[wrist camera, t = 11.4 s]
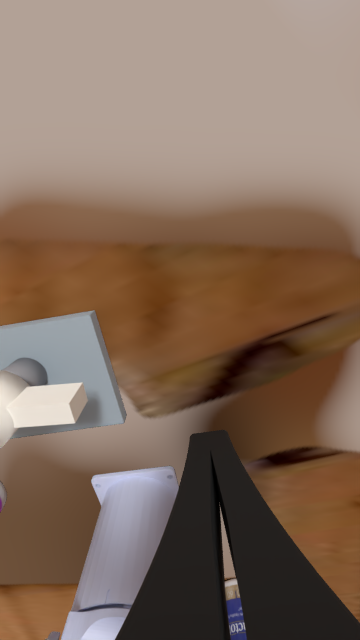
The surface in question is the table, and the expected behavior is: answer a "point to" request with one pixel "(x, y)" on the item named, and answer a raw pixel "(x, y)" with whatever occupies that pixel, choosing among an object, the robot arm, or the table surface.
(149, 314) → the table surface
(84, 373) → the board
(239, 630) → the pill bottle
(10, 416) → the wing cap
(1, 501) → the supplement bottle
